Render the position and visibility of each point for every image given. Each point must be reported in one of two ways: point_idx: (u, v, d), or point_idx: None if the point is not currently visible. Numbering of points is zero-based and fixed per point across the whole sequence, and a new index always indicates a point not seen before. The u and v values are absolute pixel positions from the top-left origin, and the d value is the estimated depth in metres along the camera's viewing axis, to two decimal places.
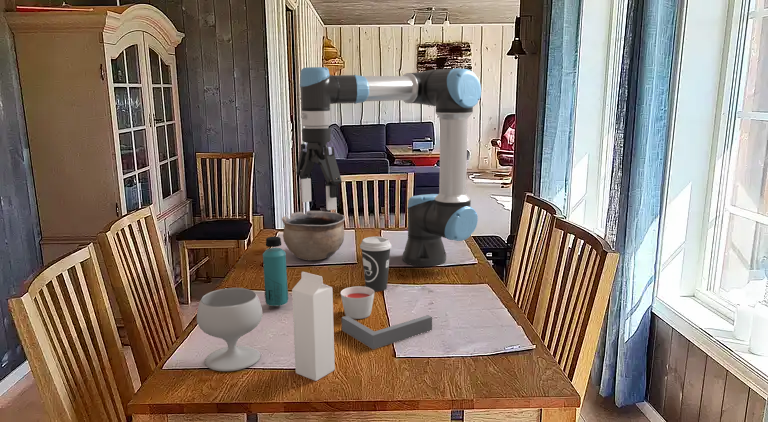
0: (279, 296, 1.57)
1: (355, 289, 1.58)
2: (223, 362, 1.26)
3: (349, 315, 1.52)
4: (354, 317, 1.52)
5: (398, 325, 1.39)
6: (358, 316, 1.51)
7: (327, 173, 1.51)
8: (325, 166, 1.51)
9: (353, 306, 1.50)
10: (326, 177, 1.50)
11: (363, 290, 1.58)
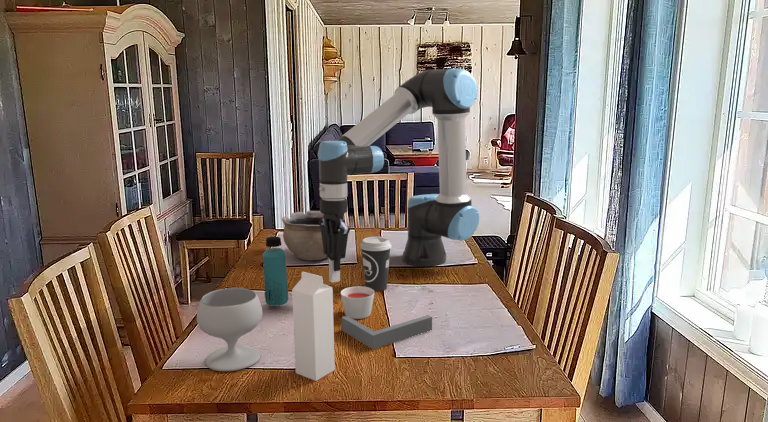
0: (279, 296, 1.57)
1: (355, 289, 1.58)
2: (223, 362, 1.26)
3: (349, 315, 1.52)
4: (354, 317, 1.52)
5: (398, 325, 1.39)
6: (358, 316, 1.51)
7: (335, 248, 1.58)
8: (336, 241, 1.58)
9: (353, 306, 1.50)
10: (333, 251, 1.59)
11: (363, 290, 1.58)
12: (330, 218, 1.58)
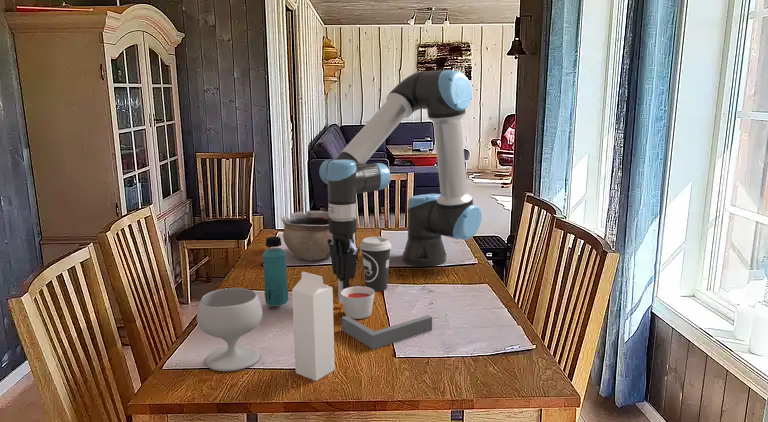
0: (279, 296, 1.57)
1: (355, 289, 1.58)
2: (223, 362, 1.26)
3: (349, 315, 1.52)
4: (354, 317, 1.52)
5: (398, 325, 1.39)
6: (358, 316, 1.51)
7: (344, 269, 1.56)
8: (345, 261, 1.56)
9: (353, 306, 1.50)
10: (342, 272, 1.56)
11: (363, 290, 1.58)
12: (339, 238, 1.55)
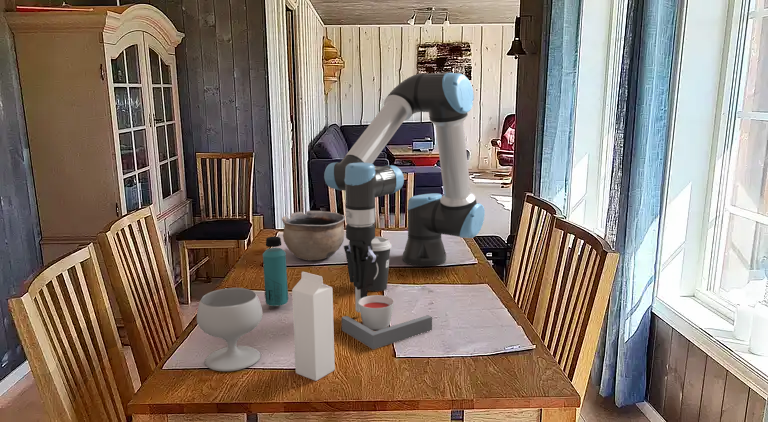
0: (279, 296, 1.57)
1: (373, 298, 1.51)
2: (223, 362, 1.26)
3: (367, 326, 1.45)
4: (373, 328, 1.45)
5: (398, 325, 1.39)
6: (377, 327, 1.44)
7: (362, 277, 1.49)
8: (363, 269, 1.49)
9: (372, 316, 1.43)
10: (360, 280, 1.49)
11: (382, 299, 1.51)
12: (357, 245, 1.48)
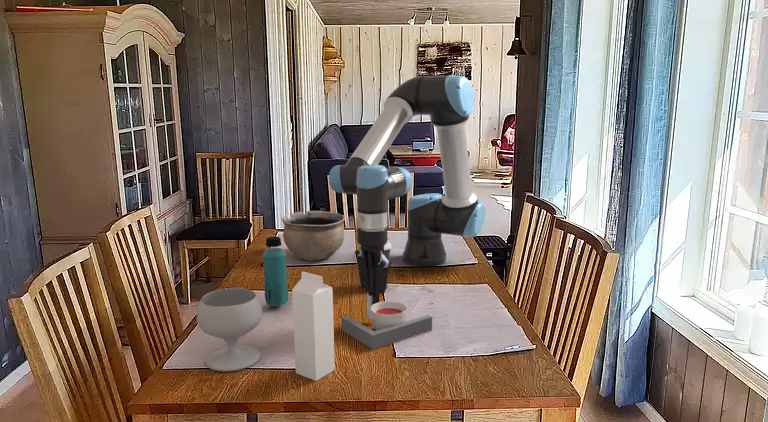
0: (279, 296, 1.57)
1: (385, 304, 1.47)
2: (223, 362, 1.26)
3: None
4: None
5: (398, 325, 1.39)
6: None
7: (374, 283, 1.45)
8: (375, 274, 1.45)
9: (384, 323, 1.39)
10: (372, 286, 1.45)
11: (394, 305, 1.47)
12: (369, 250, 1.44)
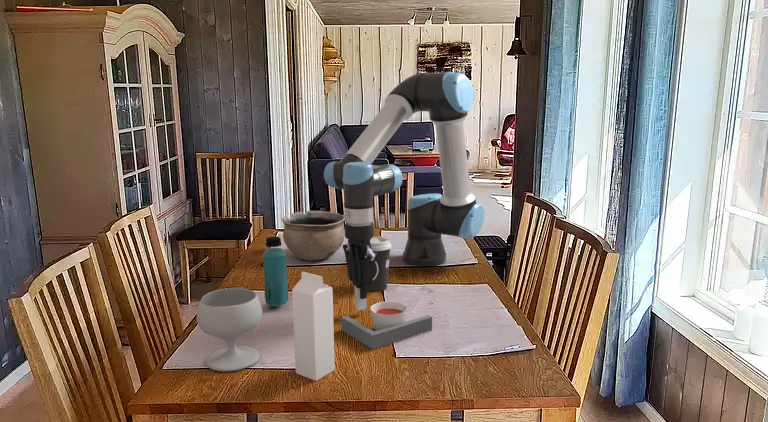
0: (279, 296, 1.57)
1: (385, 304, 1.47)
2: (223, 362, 1.26)
3: None
4: None
5: (398, 325, 1.39)
6: None
7: (361, 275, 1.50)
8: (362, 267, 1.50)
9: (384, 323, 1.39)
10: (359, 278, 1.50)
11: (394, 306, 1.47)
12: (356, 244, 1.49)
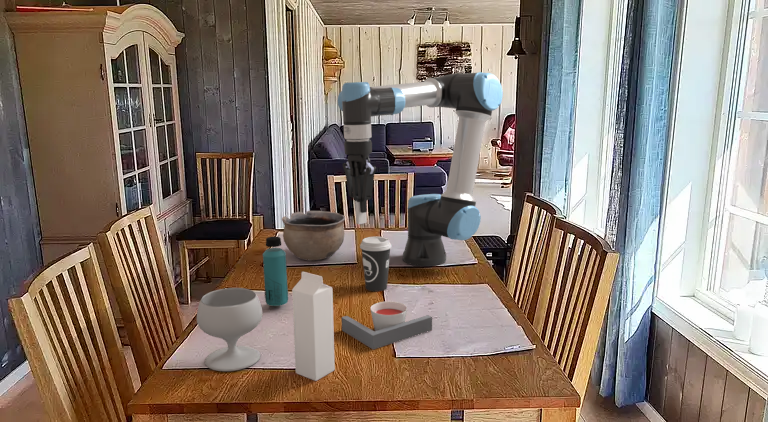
0: (279, 296, 1.57)
1: (385, 304, 1.47)
2: (223, 362, 1.26)
3: None
4: None
5: (398, 325, 1.39)
6: None
7: (361, 190, 1.60)
8: (362, 182, 1.59)
9: (384, 323, 1.39)
10: (359, 193, 1.60)
11: (394, 306, 1.47)
12: (355, 160, 1.59)
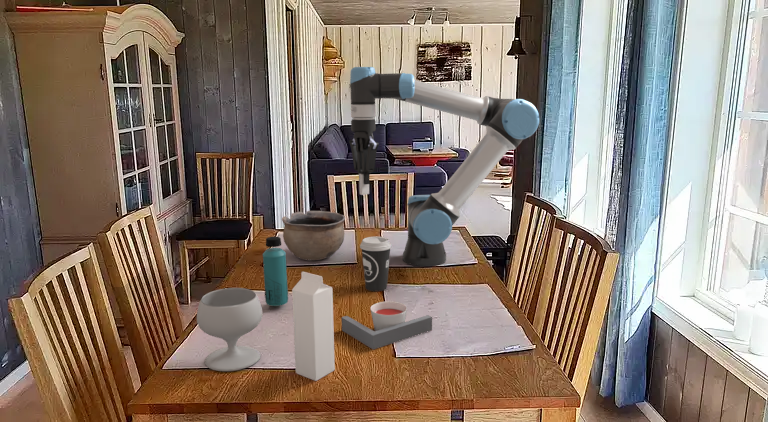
0: (279, 296, 1.57)
1: (385, 304, 1.47)
2: (223, 362, 1.26)
3: None
4: None
5: (398, 325, 1.39)
6: None
7: (365, 163, 1.79)
8: (365, 156, 1.79)
9: (384, 323, 1.39)
10: (363, 166, 1.79)
11: (394, 306, 1.47)
12: (360, 136, 1.78)
